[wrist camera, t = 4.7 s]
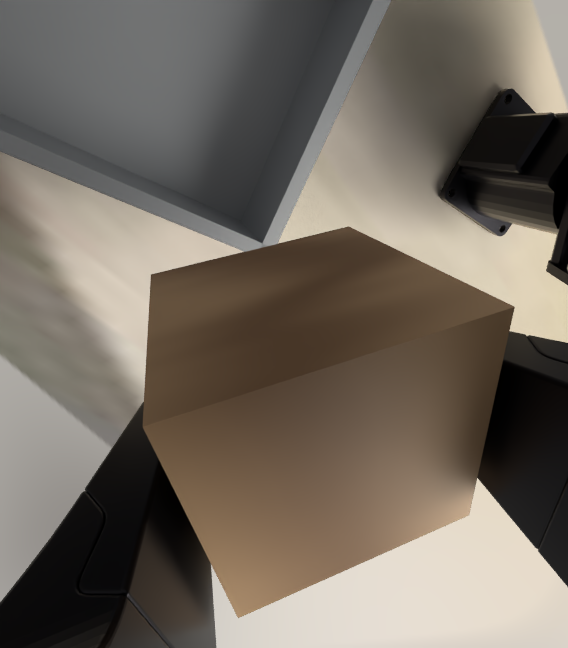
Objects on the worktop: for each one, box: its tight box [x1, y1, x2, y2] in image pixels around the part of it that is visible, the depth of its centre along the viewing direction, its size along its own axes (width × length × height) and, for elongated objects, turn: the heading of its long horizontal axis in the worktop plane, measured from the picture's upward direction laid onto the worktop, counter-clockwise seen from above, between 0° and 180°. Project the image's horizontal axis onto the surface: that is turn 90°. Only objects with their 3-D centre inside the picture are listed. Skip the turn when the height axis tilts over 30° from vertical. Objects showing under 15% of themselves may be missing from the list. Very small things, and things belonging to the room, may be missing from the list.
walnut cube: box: [143, 227, 514, 618], centre depth 8 cm, size 5×5×5 cm
